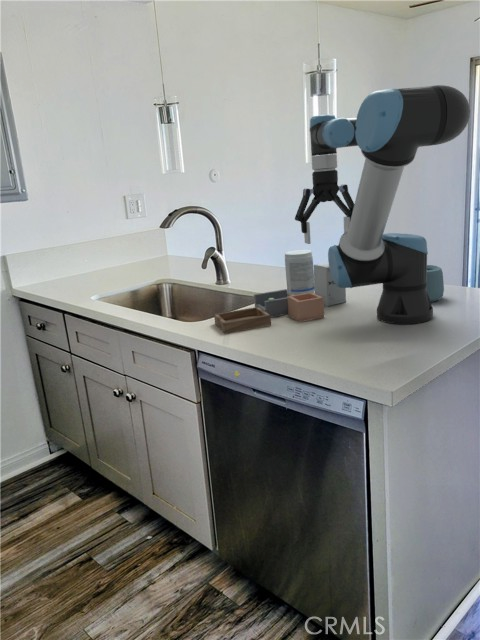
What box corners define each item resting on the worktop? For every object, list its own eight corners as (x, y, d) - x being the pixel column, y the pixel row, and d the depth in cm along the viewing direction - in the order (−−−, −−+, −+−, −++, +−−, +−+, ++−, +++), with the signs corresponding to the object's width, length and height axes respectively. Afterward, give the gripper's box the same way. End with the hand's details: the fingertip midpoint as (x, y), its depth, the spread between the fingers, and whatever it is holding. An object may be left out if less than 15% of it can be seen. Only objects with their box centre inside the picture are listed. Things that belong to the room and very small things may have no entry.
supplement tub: (320, 292, 182) (318, 250, 178) (299, 298, 177) (296, 255, 173) (302, 288, 190) (300, 248, 186) (281, 294, 185) (278, 252, 181)
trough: (271, 325, 151) (270, 315, 150) (224, 333, 147) (223, 323, 146) (259, 316, 161) (258, 306, 160) (215, 323, 157) (214, 314, 157)
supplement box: (327, 306, 164) (325, 267, 161) (314, 302, 171) (312, 264, 167) (346, 302, 167) (345, 263, 163) (333, 298, 174) (331, 260, 170)
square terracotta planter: (324, 317, 154) (323, 297, 152) (299, 321, 152) (297, 301, 150) (312, 311, 161) (311, 292, 159) (288, 315, 159) (287, 296, 157)
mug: (398, 293, 172) (398, 263, 169) (433, 290, 171) (433, 260, 168) (411, 305, 158) (411, 272, 155) (449, 302, 157) (449, 269, 154)
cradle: (300, 312, 161) (299, 294, 160) (267, 318, 158) (265, 300, 157) (286, 303, 172) (285, 287, 170) (255, 309, 169) (253, 292, 167)
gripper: (355, 166, 164) (357, 234, 170) (281, 174, 158) (286, 244, 164) (368, 166, 157) (369, 236, 163) (291, 173, 151) (295, 247, 157)
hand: (327, 240), depth 163 cm, fingers open, 13 cm apart
